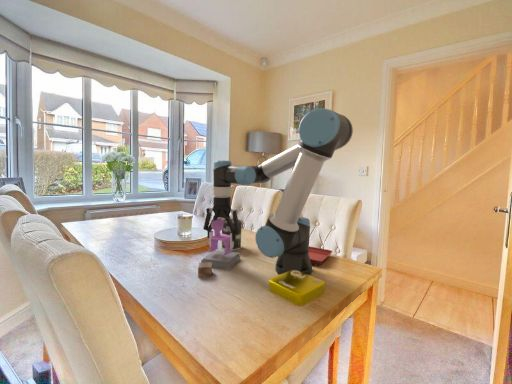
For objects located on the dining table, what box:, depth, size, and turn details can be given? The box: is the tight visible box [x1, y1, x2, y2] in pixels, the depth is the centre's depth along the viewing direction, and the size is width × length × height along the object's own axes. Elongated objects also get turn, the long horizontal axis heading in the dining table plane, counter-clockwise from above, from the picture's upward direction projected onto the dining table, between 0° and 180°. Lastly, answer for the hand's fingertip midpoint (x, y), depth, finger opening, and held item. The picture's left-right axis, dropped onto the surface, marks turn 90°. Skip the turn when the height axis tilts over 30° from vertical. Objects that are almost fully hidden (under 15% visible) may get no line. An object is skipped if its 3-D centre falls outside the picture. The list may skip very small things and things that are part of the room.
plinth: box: [200, 249, 241, 270], centre depth 119 cm, size 13×13×3 cm
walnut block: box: [197, 262, 213, 278], centre depth 106 cm, size 5×5×4 cm
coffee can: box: [221, 218, 243, 251], centre depth 139 cm, size 10×10×14 cm
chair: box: [208, 217, 233, 256], centre depth 118 cm, size 8×9×15 cm
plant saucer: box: [309, 245, 333, 267], centre depth 128 cm, size 18×18×3 cm
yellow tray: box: [268, 270, 326, 307], centre depth 94 cm, size 15×15×5 cm
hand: (221, 246), depth 118 cm, fingers closed on chair, 9 cm apart
